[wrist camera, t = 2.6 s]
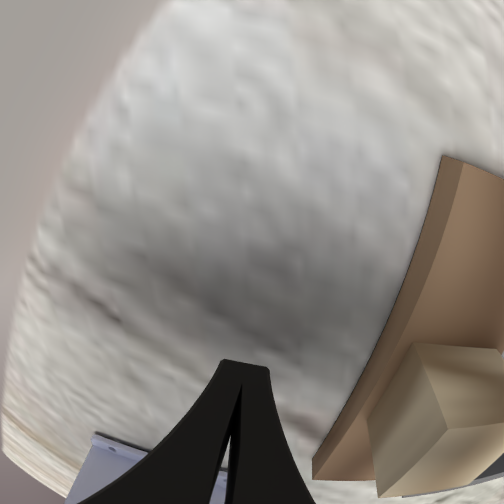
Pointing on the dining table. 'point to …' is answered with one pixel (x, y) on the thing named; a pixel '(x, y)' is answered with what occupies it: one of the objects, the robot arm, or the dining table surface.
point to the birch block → (438, 420)
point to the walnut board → (431, 305)
